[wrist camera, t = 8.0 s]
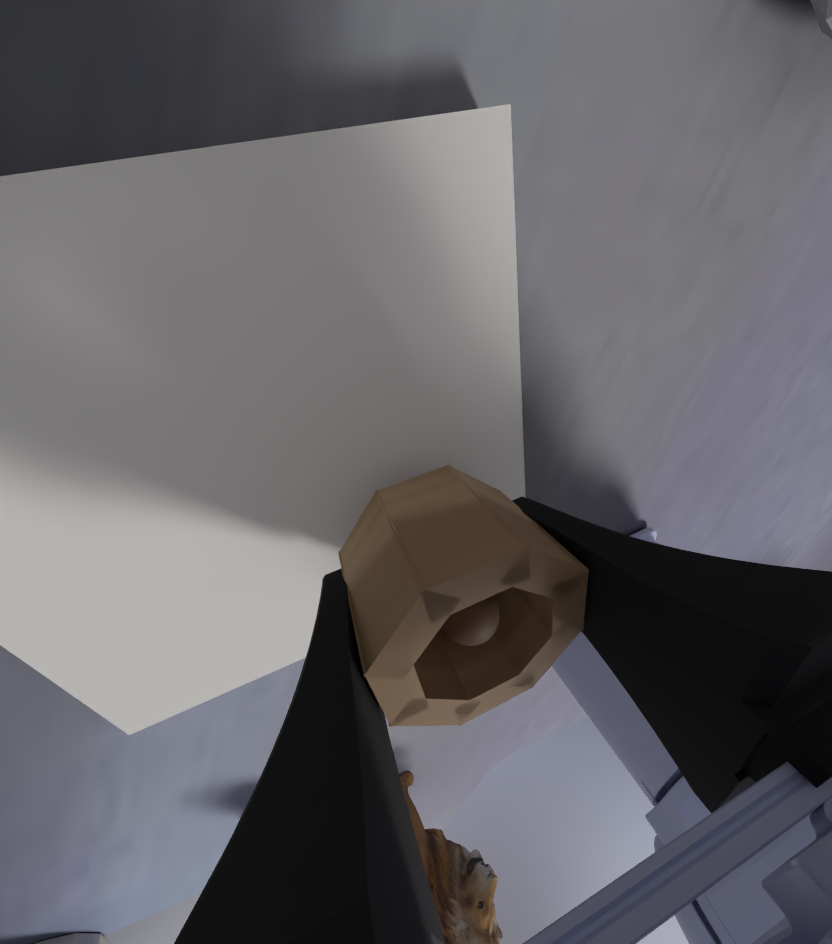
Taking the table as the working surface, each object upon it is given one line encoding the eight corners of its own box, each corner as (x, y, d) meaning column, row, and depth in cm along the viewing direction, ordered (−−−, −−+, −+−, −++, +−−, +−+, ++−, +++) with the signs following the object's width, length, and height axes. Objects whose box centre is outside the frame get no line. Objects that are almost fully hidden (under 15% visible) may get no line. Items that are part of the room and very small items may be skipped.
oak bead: (496, 447, 11) (595, 516, 7) (506, 571, 13) (580, 662, 10) (319, 510, 9) (338, 626, 6) (372, 630, 12) (404, 754, 9)
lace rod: (428, 493, 13) (509, 604, 8) (435, 525, 14) (512, 642, 9) (388, 508, 12) (449, 631, 8) (398, 539, 13) (458, 669, 9)
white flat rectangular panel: (486, 125, 9) (510, 104, 8) (513, 544, 17) (527, 559, 16) (-413, 262, 6) (-558, 255, 5) (140, 704, 14) (128, 735, 13)
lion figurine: (461, 750, 26) (532, 933, 19) (435, 790, 28) (491, 972, 20) (257, 792, 20) (240, 1099, 12) (240, 841, 21) (215, 1137, 14)
